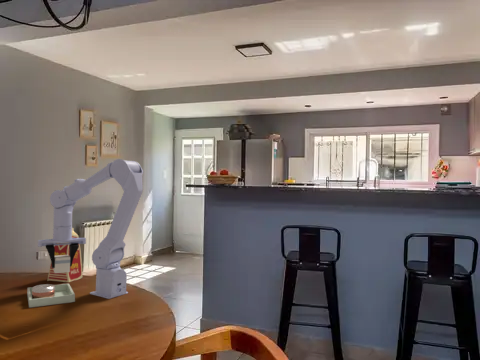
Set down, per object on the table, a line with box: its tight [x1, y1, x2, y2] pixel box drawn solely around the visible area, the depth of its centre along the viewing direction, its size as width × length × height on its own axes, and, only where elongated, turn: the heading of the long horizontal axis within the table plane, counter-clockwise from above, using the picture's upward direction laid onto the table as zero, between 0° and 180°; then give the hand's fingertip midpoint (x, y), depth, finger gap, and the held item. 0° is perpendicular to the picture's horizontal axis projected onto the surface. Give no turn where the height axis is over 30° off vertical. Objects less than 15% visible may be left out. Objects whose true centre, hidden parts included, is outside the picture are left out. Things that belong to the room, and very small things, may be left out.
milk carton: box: [46, 227, 83, 283], centre depth 142 cm, size 9×9×20 cm
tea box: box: [54, 255, 70, 273], centre depth 129 cm, size 5×5×5 cm
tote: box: [26, 283, 76, 308], centre depth 118 cm, size 14×12×2 cm
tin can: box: [32, 283, 56, 299], centre depth 115 cm, size 6×6×4 cm
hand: (61, 266), depth 129 cm, fingers closed on tea box, 5 cm apart
